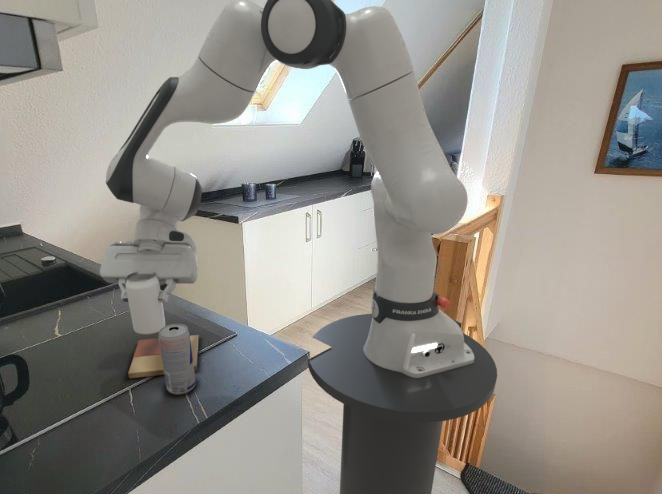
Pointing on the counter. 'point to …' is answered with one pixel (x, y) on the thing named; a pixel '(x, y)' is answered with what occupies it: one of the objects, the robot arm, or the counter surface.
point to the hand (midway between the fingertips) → (144, 301)
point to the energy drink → (177, 358)
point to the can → (145, 303)
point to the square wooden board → (155, 358)
